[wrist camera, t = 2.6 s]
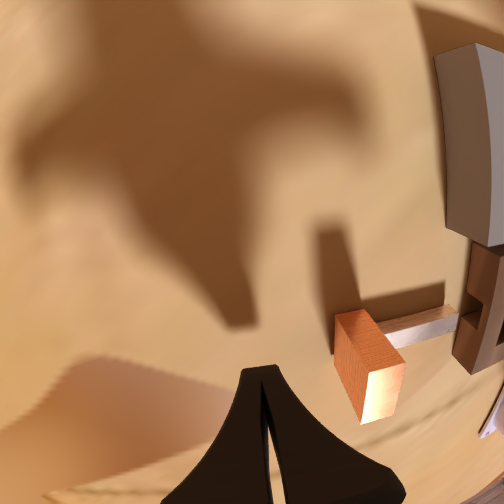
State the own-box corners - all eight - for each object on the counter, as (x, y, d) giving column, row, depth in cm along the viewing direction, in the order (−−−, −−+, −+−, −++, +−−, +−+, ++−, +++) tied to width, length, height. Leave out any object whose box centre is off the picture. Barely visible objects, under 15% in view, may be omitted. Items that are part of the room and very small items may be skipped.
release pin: (450, 288, 13) (500, 327, 9) (442, 334, 14) (483, 377, 10) (334, 314, 13) (369, 372, 9) (333, 364, 14) (360, 424, 10)
